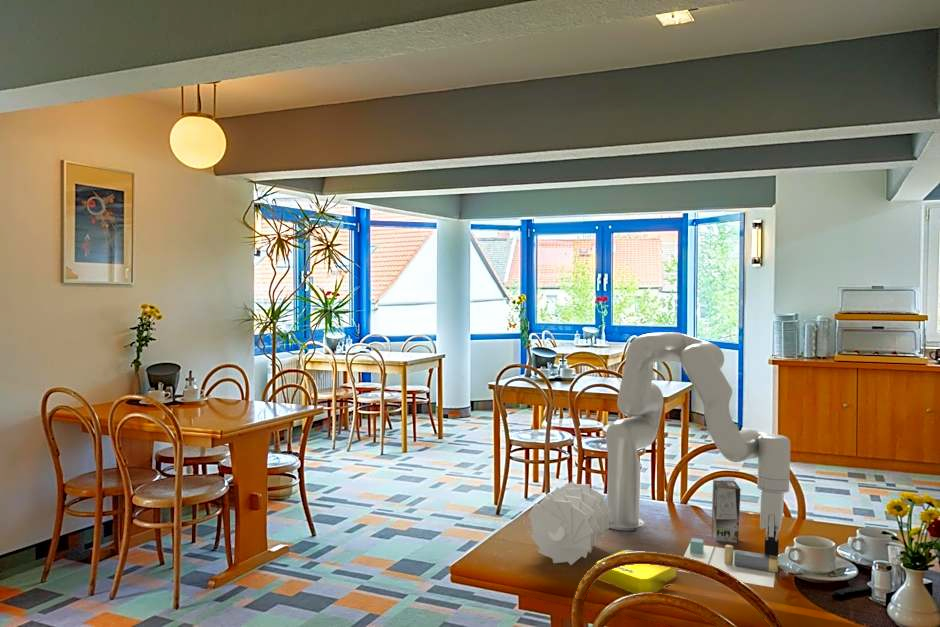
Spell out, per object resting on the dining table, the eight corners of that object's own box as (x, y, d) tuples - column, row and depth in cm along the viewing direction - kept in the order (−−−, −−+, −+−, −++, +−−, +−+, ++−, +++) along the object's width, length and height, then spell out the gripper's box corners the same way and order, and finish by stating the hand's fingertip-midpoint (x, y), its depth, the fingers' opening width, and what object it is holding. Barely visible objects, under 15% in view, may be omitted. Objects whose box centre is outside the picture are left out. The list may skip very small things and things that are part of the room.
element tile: (591, 580, 178) (592, 560, 178) (625, 564, 189) (626, 546, 189) (645, 599, 168) (646, 578, 167) (679, 582, 178) (679, 562, 178)
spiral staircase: (595, 556, 204) (571, 584, 181) (541, 520, 211) (511, 542, 188) (626, 500, 201) (605, 521, 178) (570, 466, 208) (544, 481, 185)
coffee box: (739, 547, 203) (741, 488, 203) (714, 544, 204) (716, 487, 204) (734, 536, 212) (736, 480, 212) (710, 534, 213) (712, 479, 213)
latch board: (676, 575, 181) (677, 552, 181) (689, 547, 202) (690, 527, 202) (773, 592, 172) (774, 568, 172) (776, 561, 193) (777, 540, 192)
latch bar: (734, 565, 185) (734, 553, 185) (735, 561, 188) (735, 549, 188) (777, 572, 181) (777, 560, 181) (777, 568, 184) (778, 556, 183)
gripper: (759, 475, 197) (757, 544, 197) (755, 488, 183) (753, 561, 183) (789, 478, 193) (788, 548, 194) (788, 492, 180) (786, 566, 180)
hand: (771, 554), depth 189 cm, fingers closed
